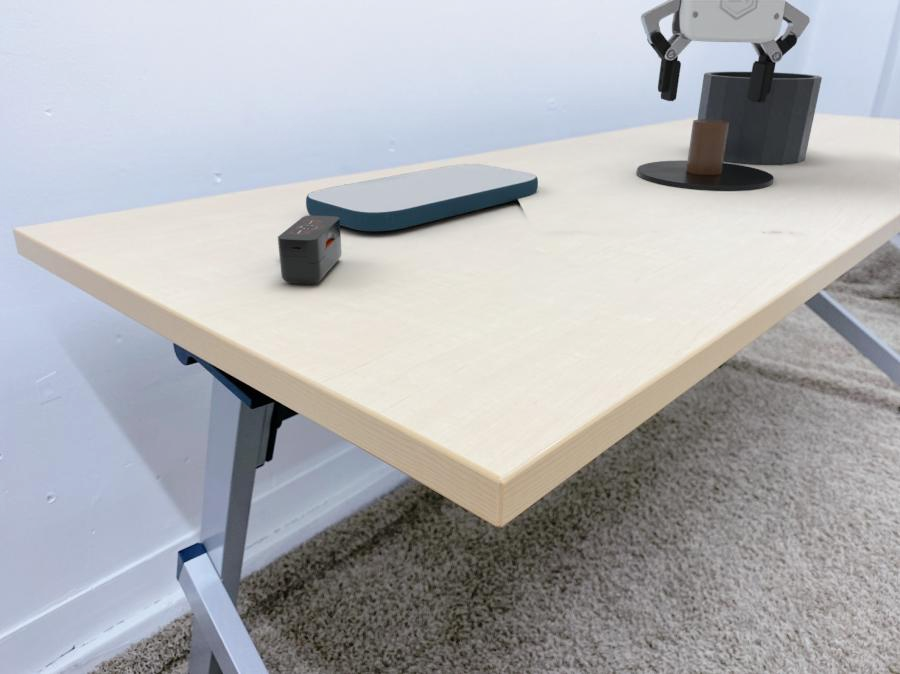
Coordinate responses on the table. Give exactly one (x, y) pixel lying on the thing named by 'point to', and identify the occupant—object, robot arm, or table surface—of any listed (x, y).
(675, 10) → the robot arm
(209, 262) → the table surface
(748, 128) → the pot
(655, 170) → the lid
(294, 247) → the dark grey box
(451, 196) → the grey flat rounded slab
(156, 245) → the table surface
